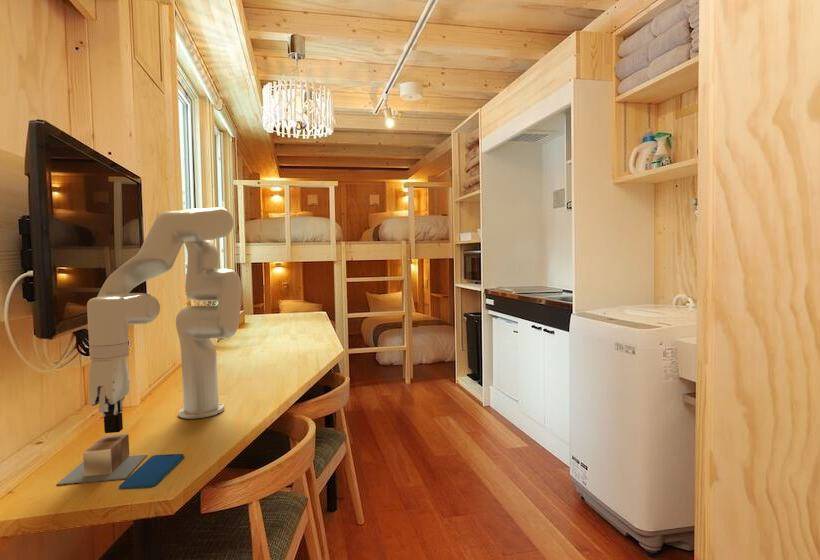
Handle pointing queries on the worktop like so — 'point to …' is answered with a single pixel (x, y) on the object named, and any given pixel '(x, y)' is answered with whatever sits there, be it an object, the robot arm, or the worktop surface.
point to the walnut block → (106, 455)
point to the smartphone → (152, 471)
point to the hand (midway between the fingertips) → (113, 431)
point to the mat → (117, 474)
